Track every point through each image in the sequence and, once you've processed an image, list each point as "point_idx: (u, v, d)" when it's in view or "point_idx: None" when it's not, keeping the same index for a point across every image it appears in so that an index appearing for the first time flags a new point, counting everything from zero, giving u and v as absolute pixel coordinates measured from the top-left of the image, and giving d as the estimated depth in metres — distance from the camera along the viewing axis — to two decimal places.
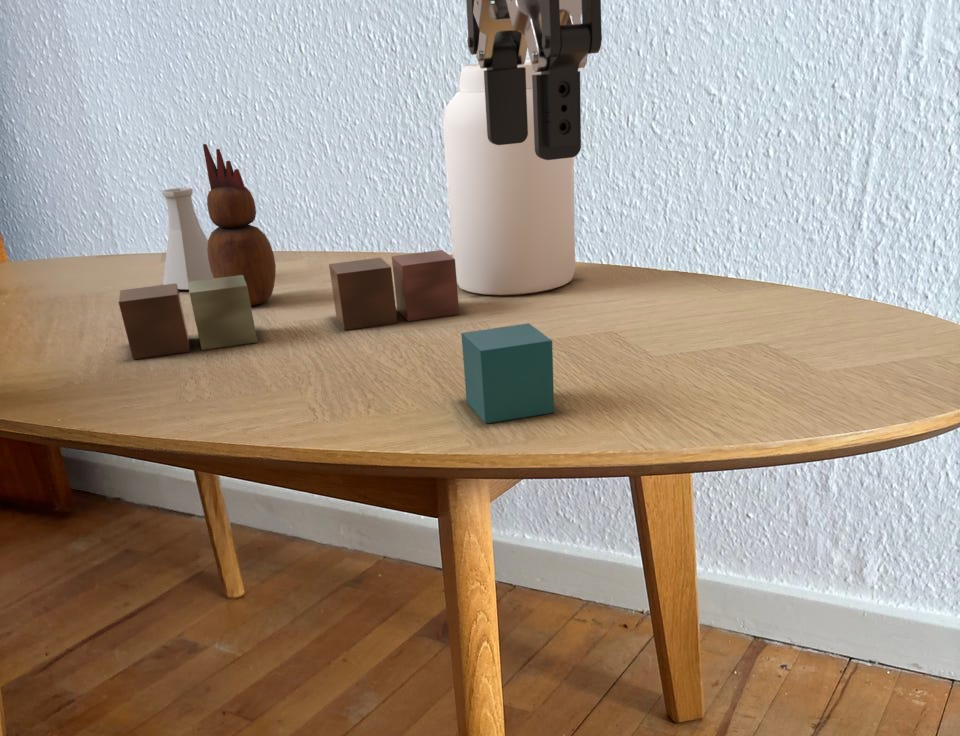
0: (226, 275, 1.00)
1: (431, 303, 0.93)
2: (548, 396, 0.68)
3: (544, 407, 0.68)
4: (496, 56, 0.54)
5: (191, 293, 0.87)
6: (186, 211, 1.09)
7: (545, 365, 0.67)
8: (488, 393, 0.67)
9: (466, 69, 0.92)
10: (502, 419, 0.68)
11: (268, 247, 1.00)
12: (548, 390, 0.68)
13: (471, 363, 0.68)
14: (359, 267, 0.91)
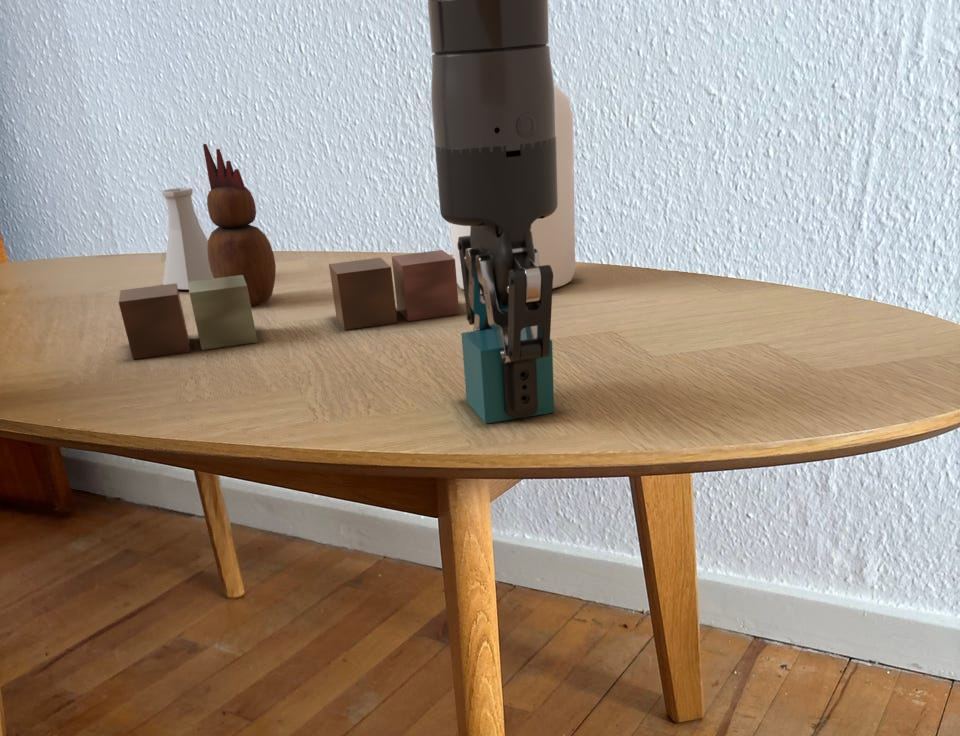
0: (226, 275, 1.00)
1: (431, 303, 0.93)
2: (548, 396, 0.68)
3: (544, 407, 0.68)
4: None
5: (191, 293, 0.87)
6: (186, 211, 1.09)
7: (545, 365, 0.67)
8: (488, 393, 0.67)
9: None
10: (502, 419, 0.68)
11: (268, 247, 1.00)
12: (548, 390, 0.68)
13: (471, 363, 0.68)
14: (359, 267, 0.91)
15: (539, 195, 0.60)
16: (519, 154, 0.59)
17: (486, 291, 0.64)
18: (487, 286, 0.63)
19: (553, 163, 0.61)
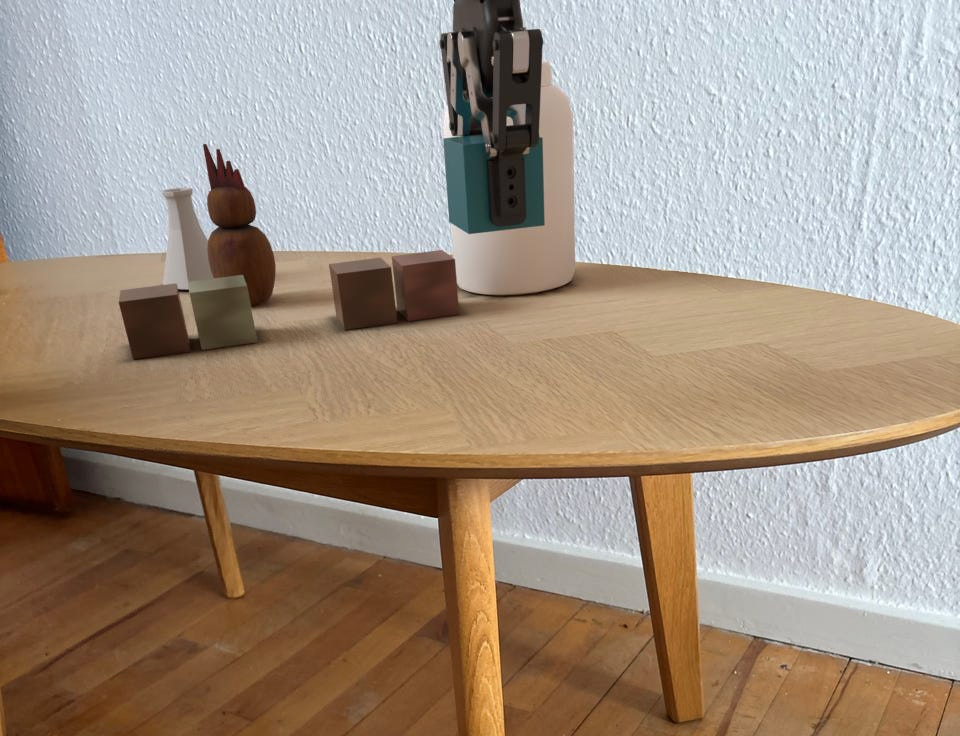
0: (226, 275, 1.00)
1: (431, 303, 0.93)
2: (538, 205, 0.62)
3: (534, 218, 0.62)
4: None
5: (191, 293, 0.87)
6: (186, 211, 1.09)
7: (535, 167, 0.61)
8: (472, 197, 0.60)
9: None
10: (487, 230, 0.62)
11: (268, 247, 1.00)
12: (538, 198, 0.62)
13: (453, 168, 0.62)
14: (359, 267, 0.91)
15: None
16: None
17: (469, 73, 0.58)
18: (470, 66, 0.57)
19: None
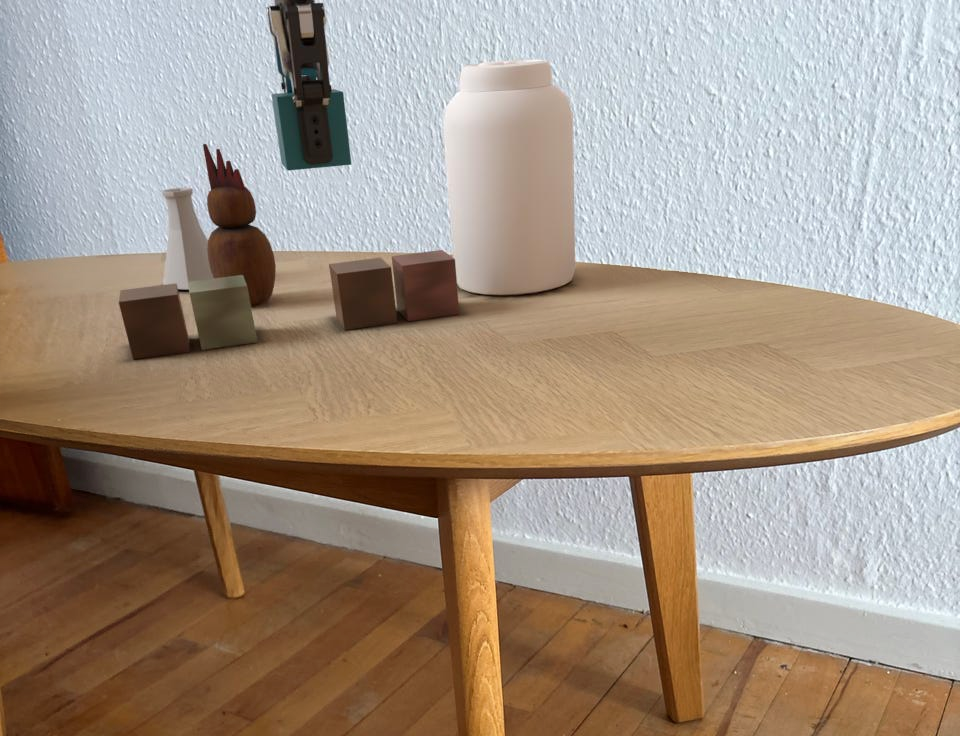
0: (226, 275, 1.00)
1: (431, 303, 0.93)
2: (344, 147, 0.77)
3: (341, 158, 0.77)
4: None
5: (191, 293, 0.87)
6: (186, 211, 1.09)
7: (338, 116, 0.75)
8: (287, 140, 0.75)
9: (466, 69, 0.92)
10: (303, 167, 0.76)
11: (268, 247, 1.00)
12: (343, 141, 0.76)
13: (277, 118, 0.77)
14: (359, 267, 0.91)
15: None
16: None
17: (278, 40, 0.72)
18: (277, 34, 0.72)
19: None
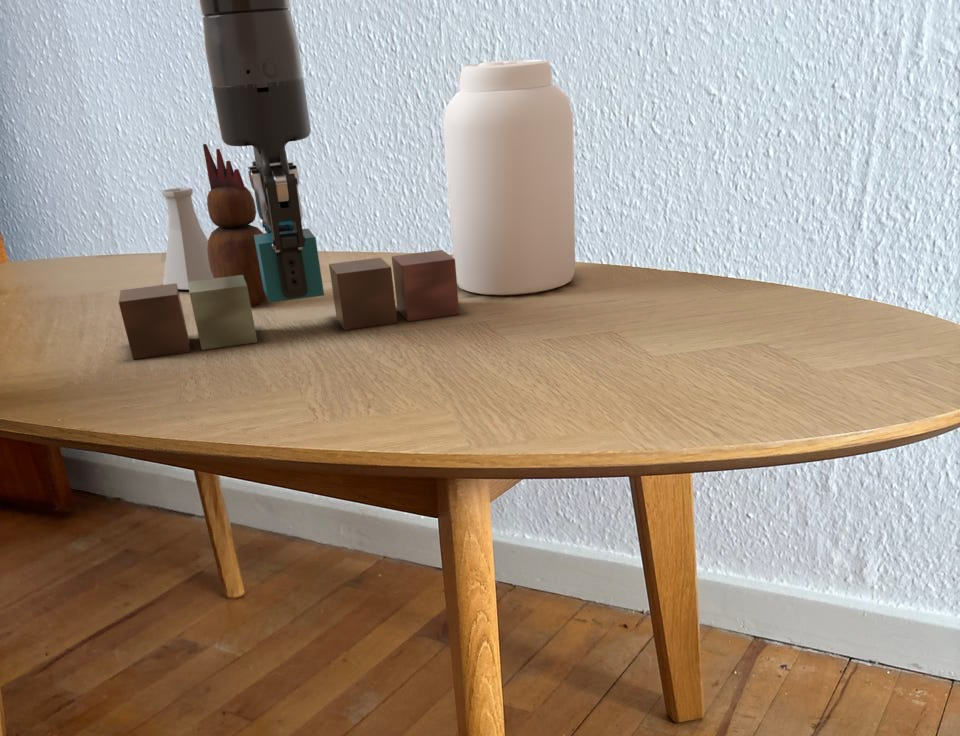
0: (226, 275, 1.00)
1: (431, 303, 0.93)
2: (317, 282, 0.89)
3: (315, 291, 0.89)
4: None
5: (191, 293, 0.87)
6: (186, 211, 1.09)
7: (312, 256, 0.88)
8: (268, 278, 0.88)
9: (466, 69, 0.92)
10: (282, 299, 0.89)
11: None
12: (317, 277, 0.89)
13: (259, 257, 0.89)
14: (359, 267, 0.91)
15: (288, 122, 0.81)
16: (268, 90, 0.80)
17: (258, 197, 0.85)
18: (258, 193, 0.84)
19: (299, 98, 0.82)
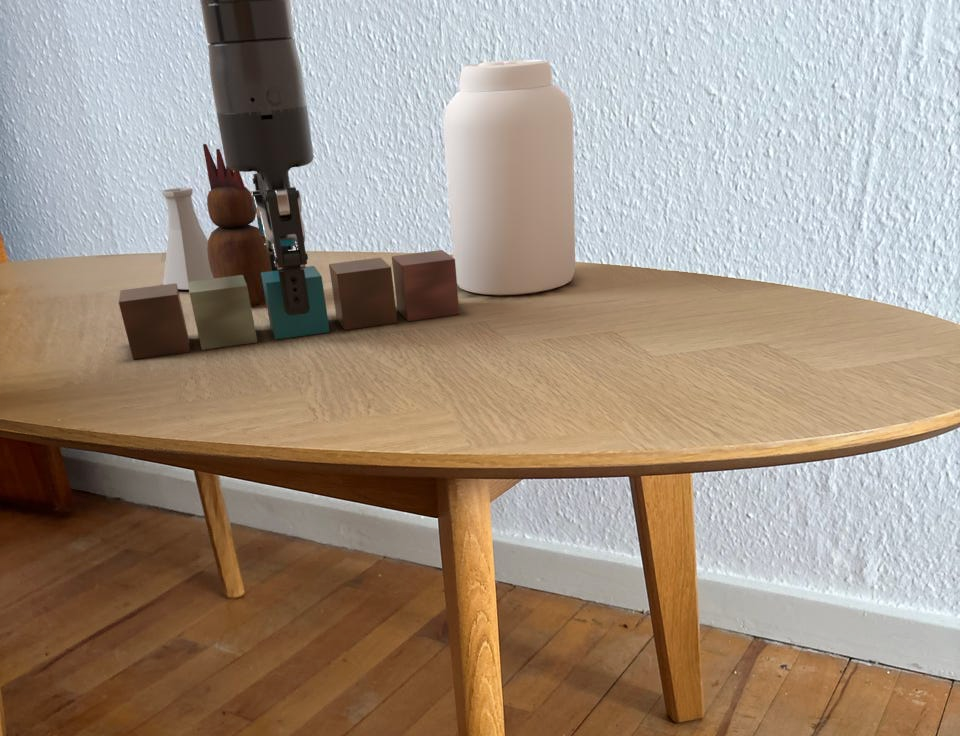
0: (226, 275, 1.00)
1: (431, 303, 0.93)
2: (323, 319, 0.91)
3: (321, 328, 0.91)
4: None
5: (191, 293, 0.87)
6: (186, 211, 1.09)
7: (318, 295, 0.90)
8: (275, 316, 0.89)
9: (466, 69, 0.92)
10: (288, 336, 0.91)
11: None
12: (323, 314, 0.90)
13: (266, 294, 0.91)
14: (359, 267, 0.91)
15: (291, 148, 0.82)
16: (272, 117, 0.81)
17: (261, 219, 0.85)
18: (260, 214, 0.85)
19: (302, 125, 0.83)
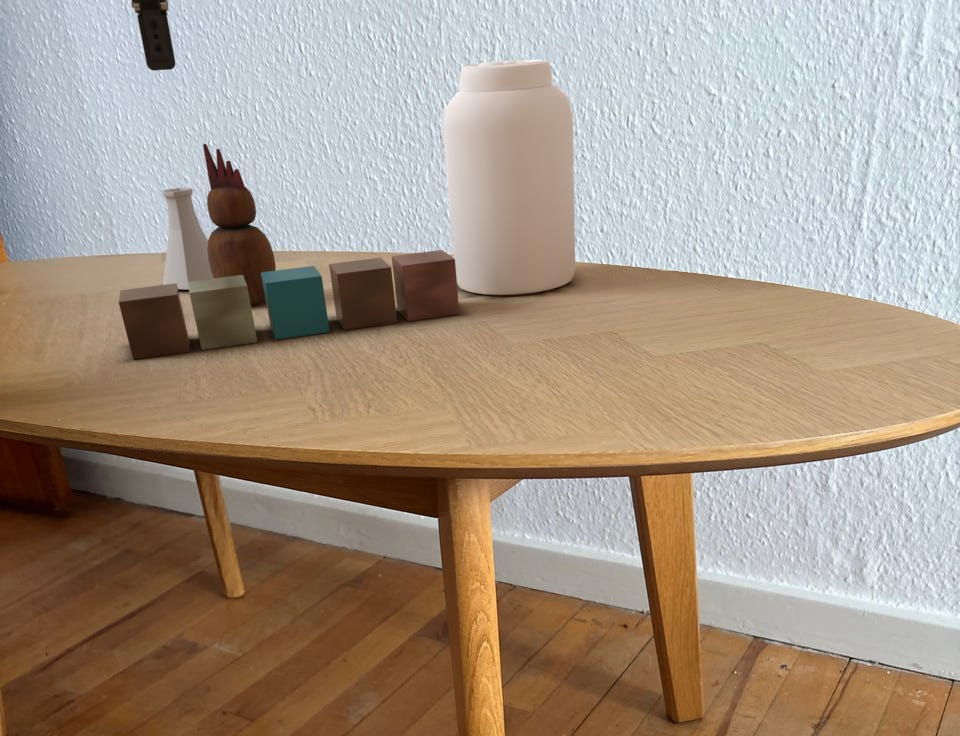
0: (226, 275, 1.00)
1: (431, 303, 0.93)
2: (323, 319, 0.91)
3: (321, 328, 0.91)
4: None
5: (191, 293, 0.87)
6: (186, 211, 1.09)
7: (318, 295, 0.90)
8: (275, 316, 0.89)
9: (466, 69, 0.92)
10: (288, 336, 0.91)
11: (268, 247, 1.00)
12: (323, 314, 0.90)
13: (266, 294, 0.91)
14: (359, 267, 0.91)
15: None
16: None
17: None
18: None
19: None
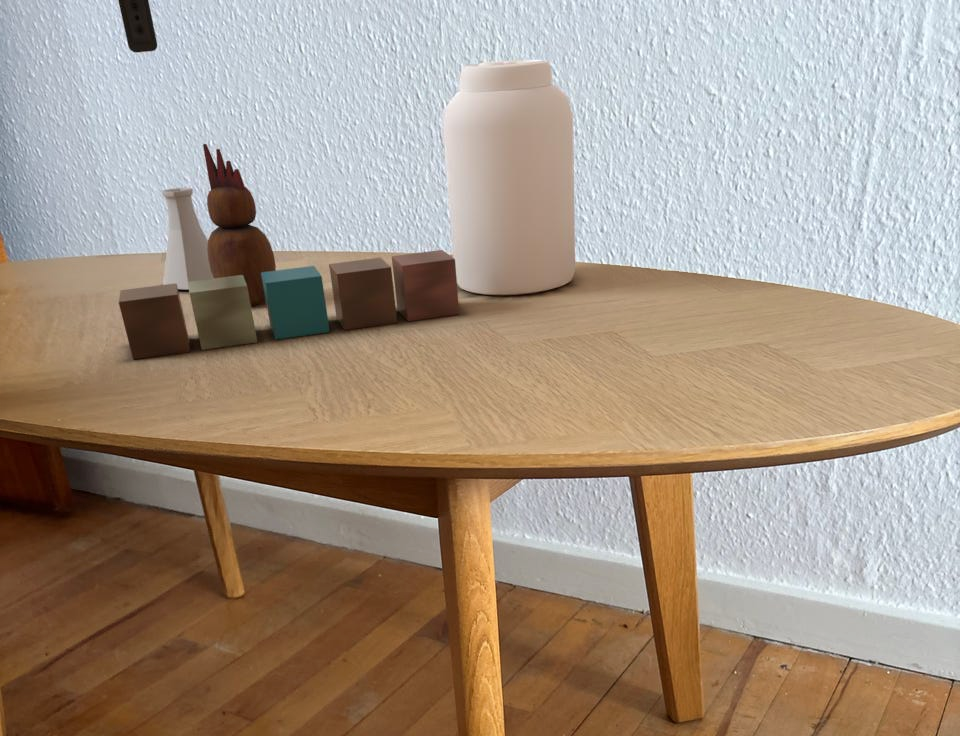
0: (226, 275, 1.00)
1: (431, 303, 0.93)
2: (323, 319, 0.91)
3: (321, 328, 0.91)
4: None
5: (191, 293, 0.87)
6: (186, 211, 1.09)
7: (318, 295, 0.90)
8: (275, 316, 0.89)
9: (466, 69, 0.92)
10: (288, 336, 0.91)
11: (268, 247, 1.00)
12: (323, 314, 0.90)
13: (266, 294, 0.91)
14: (359, 267, 0.91)
15: None
16: None
17: None
18: None
19: None
